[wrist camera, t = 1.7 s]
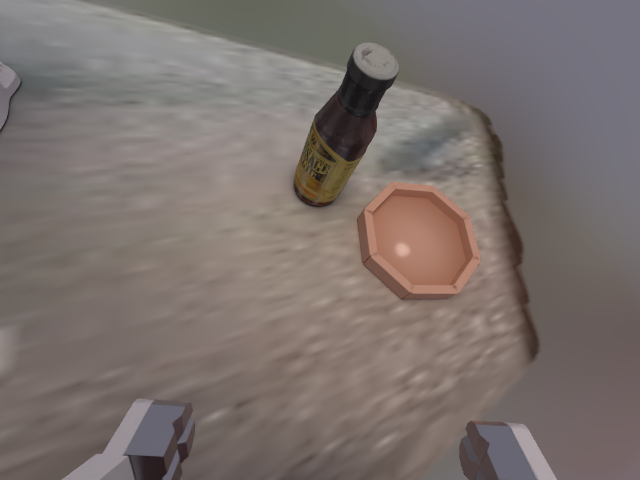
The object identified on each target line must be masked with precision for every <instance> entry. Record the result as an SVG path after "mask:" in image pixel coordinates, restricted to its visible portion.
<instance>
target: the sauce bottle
mask: <svg viewBox="0 0 640 480" xmlns="http://www.w3.org/2000/svg"><path fill="white" fill-rule="evenodd" d="M398 70H399V65H398V61H397V60H396V58H395V57H394V55H393V54H392V53H391V52H390V51H389V50H388V49H386V48H384V47H382V46H380V45H378V44H375V43H362V44H360V45H358V46H357V47H356V48H355V49H354V50H353V52H352V54H351V57H350V59H349V61H348V64H347V72H346V74H345V77H344V79H343V82H342V85H341V86H340V88H339V90H338V91H337V92H336V93H335V94H334V95H333V96H332V97H331V98H330V100H329V101H328V102H327V103H326V104H325V105H324V106H323V108H322V109H321V110H320V111H319V112H318V113H317V114H316V115H315V118H314V120H313V123H312V126H311V129H310V132H309V134H308V137H307V140H306V143H305V146H304V149H303V151H302V154H301V157H300V160H299V163H298V166H297V169H296V172H295V179H294V188H295V191H296V193H297V194H298V196H299V197H300V198H301V199H302V200H304V201H305V202H306V203H308V204H310V205H317V206H324V205H327V204H329V203H331V202H332V201H333V200H334V199H335V198H336V197H337V196H338V195H339V194H340V192H341V191H342V189H343V187H344V186H345V184H346V183H347V181H348V179H349V178H350V176H351V174H352V173H353V171H354V170H355V168H356V166H357V165H358V163H359V162H360V160H361V158H362V157H363V155H364V153H365V152H366V149H367V147H368V145H369V143H370V142H371V141H372V139H373V137H374V135H375V132H376V128H377V118H376V112H375V111H376V109H377V108H378V105H379V102H380V101H381V98H382V97H383V95H384V93H385V91H386V90H387V89H388V88H390V87H391V86H392V84H393V82H394V80H395V78H396V76H397V74H398Z"/></svg>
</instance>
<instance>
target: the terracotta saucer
mask: <svg viewBox="0 0 640 480" xmlns="http://www.w3.org/2000/svg"><path fill="white" fill-rule="evenodd" d="M357 221H358V230H359V238H360V246H361V255H362V263H364V264H363V265H364V266H366V267H367V268H368V269H369V270H370V271H371V272H372V273H373V274H374V275H375V276H376V277H378V278H379V279H380V280H381V281H382V282H383V283H384V284H385V285H386V286H387V287H388V288H390V289H391V290H392V291H393V292H394V293H395V294H396V295H397V296H398V297H399V298H400V299H401V298H402V299H447V298H450V297H452V296H454V295H456V294H458V293H459V292H460V291H461V289H462V288H463V286H464V285H465V283H466V282H467V280H468V279H469V277H470V276H471V274H472V273H473V271H474V270H475V268H476V267H477V265H478V264H479V262H480V261H481V260H480V259H481V258H480V254H479V250H478V247H477V243H476V239H475V236H474V232H473V228H472V225H471V221H470V217H468V215H467V214H466V213H465V212H464V211H462V210H461V209H460V208H459V207H458V206H457V205H455V204H454V203H453V202H452V201H451V200H450V199H448V198H447V197H446V196H445V195H444V194H443V193H441V192H440V191H439V190H438V189H437V188H436V187H433V186H430V185H419V184H408V183H397V182H392V183H390V184H389V185H388V186H387V187H386V188H385V189H384V190H383V191H382V192H381V193H380V194H379V195H378V196H377V197H376V198H375V199H374V200H373V201H372V202H371V203H370V204H369V205H368V206H367V207H366V208H365V209H364V210H363V211H362V213H361V214H360V216H359V217H358V219H357Z"/></svg>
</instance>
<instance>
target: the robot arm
mask: <svg viewBox="0 0 640 480" xmlns="http://www.w3.org/2000/svg"><path fill="white" fill-rule="evenodd" d="M20 82H21V80H20V78H19V77H18V75H17V74H16V73H15V72H14V71H13V70H12V69H11V68H9V67H7V66H6V65H4V64H3V63H1V62H0V129H1V128H2V126H3V125H4V123H5V121H6V118H7V115H8V109H9V100H10V97H11V96H12V95H13V93H14V92H15V91H16V90H17V88H18V87H19V85H20ZM192 411H193V410H192V405H191V403H186V402H175V401H164V400H153V399H139V398H138V399H137V400H136V401H135V402H134V403H133V404H132V405H131V407H130V409H129V410H128V412H127V414H126V415H125V417H124V418H123V420H122V422H121V423H120V425H119V427H118V428H117V430H116V432H115V433H114V435H113V437H112V438H111V440H110V442H109V443H108V445H107V447H106V448H105V450H104V451H103V453H102V454H95V455H94V456H93V457H91V458H90V459H89V460H87V461H86V462H85V463H83V464H82V465H81V466H79V467H78V468H77V469H75V470H74V471H73V472H71V473H70V474H69V475H67V476H66V477H65V478H63V479H62V480H180V477H181V475H182V469H181V463H182V462H183V461H184V460H185V459H186V458H187V457H188V456H189V453H190V450H191V447H192V444H193V439H194V433H195V424H194V421H193V420H192V419H191V418H190V416H191V414H192ZM466 431H467V434H468V435H467V436H465V437H464V438H462V439H461V443H460V446H459V457H460V462H461V467H462V470H463V473H464V475H465V476H466V477H467V478H468V479H469V480H557V479H556V477H555V475H554V474H553V472H552V470H551V469H550V467H549V465H548V463H547V462H546V460H545V458H544V456H543V455H542V453H541V451H540V450H539V448H538V446H537V444H536V442H535V441H534V439H533V437H532V435H531V434H530V432H529V430H528V428H527V427H526V426H525V425H523V424H515V423H503V422H487V421H470V422H468V424H467V426H466Z"/></svg>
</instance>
